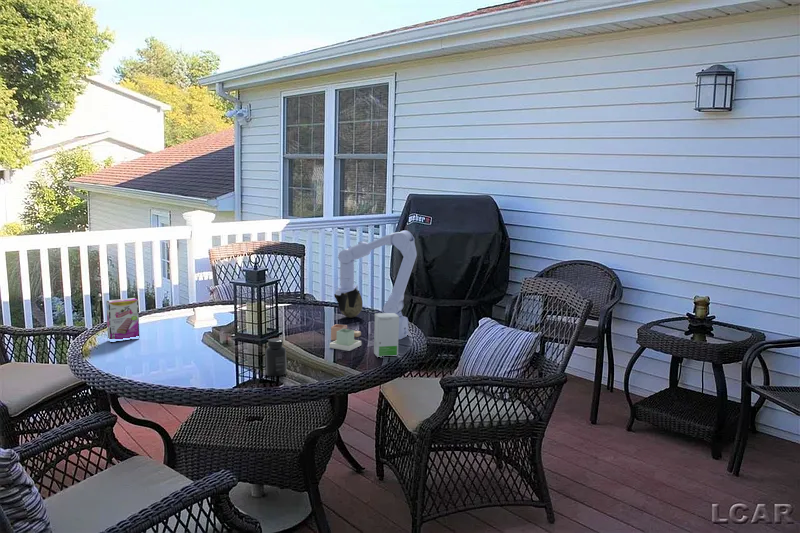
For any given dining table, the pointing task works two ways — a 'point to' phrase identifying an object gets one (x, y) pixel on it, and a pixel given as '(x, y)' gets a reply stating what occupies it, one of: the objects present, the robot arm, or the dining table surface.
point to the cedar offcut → (357, 333)
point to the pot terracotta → (335, 329)
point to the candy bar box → (122, 318)
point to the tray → (345, 347)
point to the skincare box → (386, 334)
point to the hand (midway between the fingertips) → (347, 309)
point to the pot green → (345, 337)
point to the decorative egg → (353, 311)
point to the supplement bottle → (275, 358)
